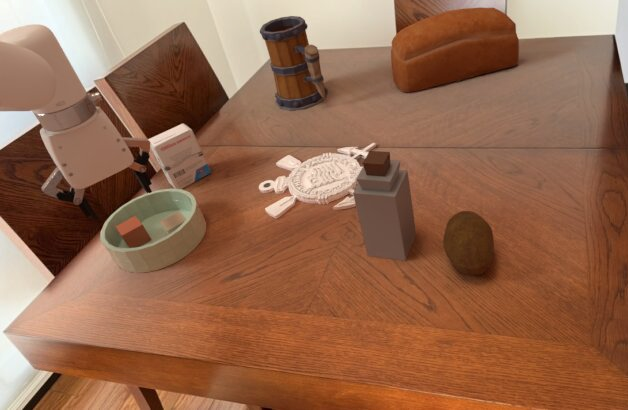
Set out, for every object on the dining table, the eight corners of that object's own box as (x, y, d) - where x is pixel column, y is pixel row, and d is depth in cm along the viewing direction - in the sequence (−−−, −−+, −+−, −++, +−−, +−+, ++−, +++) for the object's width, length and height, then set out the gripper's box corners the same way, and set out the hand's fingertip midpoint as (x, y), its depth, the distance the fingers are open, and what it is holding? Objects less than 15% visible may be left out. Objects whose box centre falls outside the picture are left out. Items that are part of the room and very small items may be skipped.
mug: (350, 97, 131) (334, 21, 119) (306, 121, 125) (284, 43, 112) (308, 80, 144) (289, 10, 131) (265, 101, 137) (242, 29, 125)
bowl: (133, 288, 87) (118, 266, 84) (102, 243, 99) (88, 222, 95) (222, 234, 95) (212, 212, 92) (184, 198, 106) (174, 177, 103)
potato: (454, 290, 76) (451, 254, 71) (436, 237, 86) (432, 202, 81) (506, 279, 76) (506, 243, 71) (482, 227, 86) (481, 192, 81)
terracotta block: (131, 251, 94) (121, 235, 92) (124, 241, 97) (114, 226, 94) (151, 239, 96) (142, 224, 94) (144, 230, 99) (135, 215, 96)
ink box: (203, 165, 116) (183, 121, 108) (212, 173, 112) (192, 128, 105) (168, 183, 112) (145, 138, 105) (176, 192, 109) (153, 146, 101)
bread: (389, 75, 138) (381, 19, 128) (500, 48, 141) (501, -9, 132) (402, 96, 127) (394, 36, 118) (523, 66, 131) (525, 5, 121)
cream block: (175, 246, 93) (167, 231, 91) (167, 237, 96) (159, 221, 94) (195, 235, 95) (187, 219, 93) (187, 226, 98) (178, 210, 95)
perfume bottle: (367, 255, 85) (347, 169, 74) (379, 229, 90) (362, 144, 78) (405, 260, 83) (390, 172, 71) (416, 233, 87) (404, 146, 76)
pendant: (394, 203, 95) (393, 197, 94) (250, 222, 97) (248, 216, 96) (390, 143, 111) (389, 137, 110) (267, 160, 113) (265, 155, 112)
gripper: (116, 83, 80) (161, 171, 91) (-1, 130, 73) (63, 220, 83) (132, 95, 76) (177, 186, 86) (8, 147, 68) (75, 240, 79)
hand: (121, 203), depth 85 cm, fingers open, 8 cm apart
